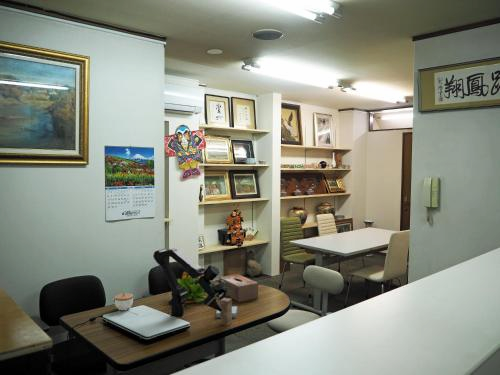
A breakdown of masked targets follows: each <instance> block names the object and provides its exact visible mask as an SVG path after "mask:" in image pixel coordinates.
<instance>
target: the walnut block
mask: <svg viewBox="0 0 500 375" xmlns="http://www.w3.org/2000/svg"><path fill="white" fill-rule="evenodd" d="M232 302H233V298H230V297H227V298H223V299H221V300H220V299H219V306H220V308H221V309H222V311H221V312H220V317H219V318H220V323H219V324H220V325H223V326H227V327H228V326H230V325H231V324H232V323H233V318H232V306H233V304H232Z"/></svg>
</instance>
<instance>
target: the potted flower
mask: <svg viewBox="0 0 500 375" xmlns="http://www.w3.org/2000/svg"><path fill="white" fill-rule="evenodd" d="M202 276H204V275H202ZM200 277H201V276H200ZM200 277H197V278H194V279H193V278H191V277H190V275H189V274H188V273H187V271H183V273H182V276H181V278H177V280H178V283H179V285H180V286H181V287H185V289H186V291H187V292H188V293H187V295H188V296H187V299H186V300H185V302H184V303H185V304H190V303H191V304H192V303H197V304H198V303H199V304H200V302H203V300H204V299H205V298H206V297H207V296H208V295H207V293H206V292H205V293H204V292H203V291H204V290H203V288H202V287H201V286H200V285H199V284H197V285H195V280H196V279H199V278H200ZM205 296H206V297H205ZM171 299H172V296H171ZM184 303H183V304H184Z"/></svg>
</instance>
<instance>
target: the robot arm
mask: <svg viewBox="0 0 500 375" xmlns="http://www.w3.org/2000/svg"><path fill="white" fill-rule="evenodd" d="M152 257H153V259H154V260H155V262H156V264H158V265H159V266H160V267H161V269H162V271H163V273H164V275H165V278H166V280H167V282H168V284H169V286H170V289H171V292H170V293H171V297H172V298H171V299H170V300H169V301H168V305H169V306H170V309H171V314H170V317H171V316H175V317H178V318H179V317H183V316H184V314H185V305H184V302H185V300H186V299H187V296H188V295H187V293H188V292H187V291H186V289H185V287H181V286H180V285H179V283H178V280H177V279H178V278H177V276H176V274H175V271H174V270H173V268H172V265H171V264H170V257H171V259H173V260H174V261H175V262H177V263H178V264H179V265H180V266H181V267H183V268H184V269H185V272H186V274H187V273H188V274H189V275H188V276H190V277H191V278H193V279H194V278H197V277H199V279H196V280H195V285H197V284H199V285H200V286H201V287H202V288H203V290H204V291H203V292H204V293H205V292H206V293H207V295H208V296H206V297H204V298H205V299H204V300H203V301H202V305H204V307H206V306H207V307H210V308H211V309H214V310H216V311H217V310H218V311H220V312H221V311H222V309H221V308H220V304H218V302H217V298H218V300H219V301H220V300H221V299H223V298H228V296H227V292H228V291H227V290H228V289H227V288H226V286H225V284H226V283H225V282H224V281H223V280H221V281H218V283H215V282H212V281H213V280H214V279H216V277H217V276H218V275H219V274H220V269H219V268H218V267H216V266H214V265H212V264H210V265H209V264H208V267H207V268H204V267H202V266H201V265H199V264H197V263H194V262H192V261H191V260H189V258H187V257H186V256H184V255H183V254H182V253H181V252H180V251H179V250H178V249H177V248H171V249H170V248H169V249H165V248H162V249H158V250H155V251H154V252H153V255H152ZM202 275H204V276H202ZM200 276H201V277H200Z"/></svg>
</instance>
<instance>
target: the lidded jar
mask: <svg viewBox="0 0 500 375" xmlns="http://www.w3.org/2000/svg"><path fill="white" fill-rule="evenodd" d="M133 302H134V295H133V294H132V293H125V292H123V293H120V294H116V295H114V305H115V307H116V308H117V309H118V310H119V311H120V310H124V309H128V308H129V309H130V308H131V307H132V306H133ZM129 309H128V310H129Z"/></svg>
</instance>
